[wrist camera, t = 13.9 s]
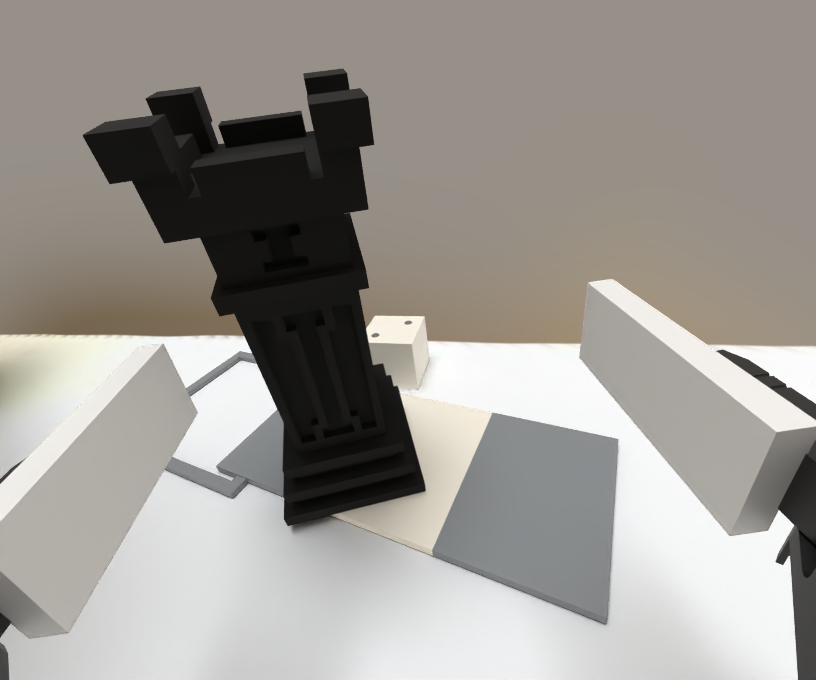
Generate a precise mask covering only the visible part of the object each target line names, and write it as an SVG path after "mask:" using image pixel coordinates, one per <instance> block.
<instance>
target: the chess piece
mask: <svg viewBox="0 0 816 680" xmlns="http://www.w3.org/2000/svg"><path fill="white" fill-rule="evenodd" d="M303 75H304V80H305V85H306V90H307V99H308V105H309V110H310V115H311V119H312V124H313V129H314V131H310V132H306V130H305V126H304V122H303V117H302V113H301V111H295V112H288V113H280V114H273V115H266V116H258V117H251V118H244V119H236V120H229V121H222V122H221V123H220V124H219V129H220V132H221V135H222V138H223V141H224V143H225V144H218V141H217V139H216V136H215V133H214V130H213V128H212V125H211V122H212V118H211V116H210V113H209V110H208V107H207V104H206V102H205V99H204V96H203V93H202V90H201V88H200V87H193V88H185V89H177V90H169V91H161V92H156V93H155V94H153V95H151V96H149V97H148V98H146V101H147V103H148V105H149V108H150V110H151V112H152V115H153V116H147V117H139V118H131V119H124V120H116V121H109V122H104V123H103V124H101V125H99V126H97V127H96V128H94V129H92V130H91V131H89V132H87V133H86V134H84V135H83V137H84V139H85V141H86V142H87V144H88V146H89V148H90V150H91V152H92V153H93V155H94V157H95V159H96V160H97V162H98V164H99V166H100V168H101V170H102V171H103V173H104V175H105V177H106V178H107V180H108V182H109V184H114V183H120V182H127V181H132V182H133V184H134V186H135V188H136V190H137V192H138V193H139V195H140V197H141V199H142V201H143V203H144V205H145V207H146V209H147V211H148V213H149V215H150V217H151V219H152V221H153V222H154V224H155V226H156V228H157V230H158V232H159V234H160V236H161V238H162V240H163V242H164V243H170V242H176V241H182V240H188V239H194V238H200V239H201V241H202V243H203V245H204V247H205V250H206V252H207V254H208V256H209V258H210V261H211V263H212V265H213V267H214V269H215V272H216V274H217V279H216V283H215V286H214V290H213V293H212V296H211V300H212V302H213V304H214V306H215V308H216V310H217V312H218V314H219V316H224V315H229V314H235V316H236V318H237V321H238V323H239V325H240V327H241V329H242V332H243V334H244V336H245V338H246V341H247V343H248V345H249V347H250V349H251V352H252V354H253V356H254V358H255V361H256V363H257V365H258V367H259V369H260V372H261V374H262V376H263V378H264V380H265V383H266V385H267V387H268V389H269V392H270V394H271V396H272V398H273V400H274V403H275V405H276V407H277V409H278V411H279V414H280V416H281V418H282V420H283V423H284V428H283V469H282V471H283V473H284V485H283V496H284V520H285V522H286V523H287V525H288V526H290V525H294V524H298V523H302V522H306V521H310V520H314V519H318V518H322V517H325V516H329V515H333V514H337V513H341V512H345V511H349V510H353V509H357V508H361V507H365V506H369V505H373V504H377V503H381V502H385V501H389V500H393V499H397V498H401V497H405V496H409V495H413V494H416V493H420V492H424V491H426V488H425V482H424V478H423V475H422V471H421V467H420V464H419V460H418V457H417V453H416V450H415V446H414V442H413V439H412V435H411V432H410V428H409V424H408V421H407V417H406V414H405V410H404V407H403V403H402V399H401V396H400V392H399V389H398V385H397V386H394V385H393V381H392V378H391V375H388V376H386V372H385V368H384V364H383V363H381V364H376V365H373V363H372V357H371V352H370V347H369V342H368V337H367V331H366V326H365V321H364V316H363V311H362V305H361V300H360V295H359V290H361V289H366V288H369V285H368V279H367V274H366V269H365V265H364V261H363V258H362V254H361V251H360V247H359V244H358V240H357V237H356V233H355V229H354V226H353V223H352V219H351V216H350V212H355V211H362V210H367V209H368V203H367V195H366V189H365V182H364V175H363V169H362V162H361V155H360V149H359V147H363V146H369V145H374V140H373V132H372V124H371V117H370V108H369V101H368V96H367V95H366V94H365V93H364V92H363V91H362V90H361V89H360V88H359V89H352V90H349V83H348V77H347V73H346V72H345V70H344V69H337V70H328V71H320V72H312V73H304V74H303ZM344 213H347V214H344Z"/></svg>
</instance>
